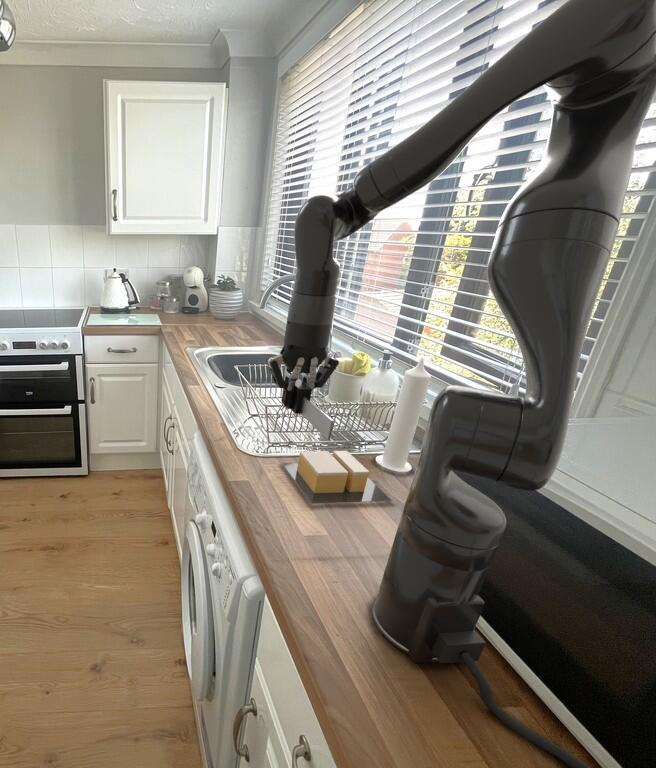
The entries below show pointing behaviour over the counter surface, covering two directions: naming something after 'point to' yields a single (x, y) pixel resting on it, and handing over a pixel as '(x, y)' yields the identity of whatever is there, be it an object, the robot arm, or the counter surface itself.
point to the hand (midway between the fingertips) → (294, 406)
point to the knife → (310, 409)
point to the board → (368, 495)
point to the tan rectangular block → (322, 472)
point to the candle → (405, 419)
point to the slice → (352, 471)
